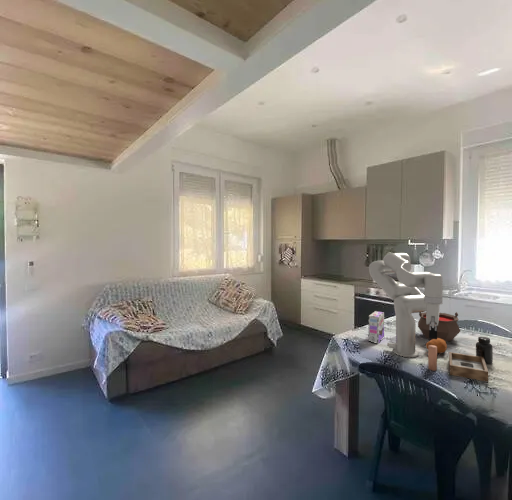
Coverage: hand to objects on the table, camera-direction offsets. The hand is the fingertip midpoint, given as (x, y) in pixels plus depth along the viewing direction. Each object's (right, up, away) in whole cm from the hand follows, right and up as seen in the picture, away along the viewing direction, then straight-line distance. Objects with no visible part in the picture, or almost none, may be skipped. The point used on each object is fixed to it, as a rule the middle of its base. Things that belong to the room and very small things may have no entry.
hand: (433, 335), depth 144 cm
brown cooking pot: (+29, -14, +44) cm, 54 cm away
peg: (0, -16, +1) cm, 16 cm away
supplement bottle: (+30, -16, +8) cm, 35 cm away
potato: (+14, -15, +21) cm, 30 cm away
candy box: (-10, -15, +42) cm, 46 cm away
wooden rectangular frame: (+15, -16, -1) cm, 22 cm away
